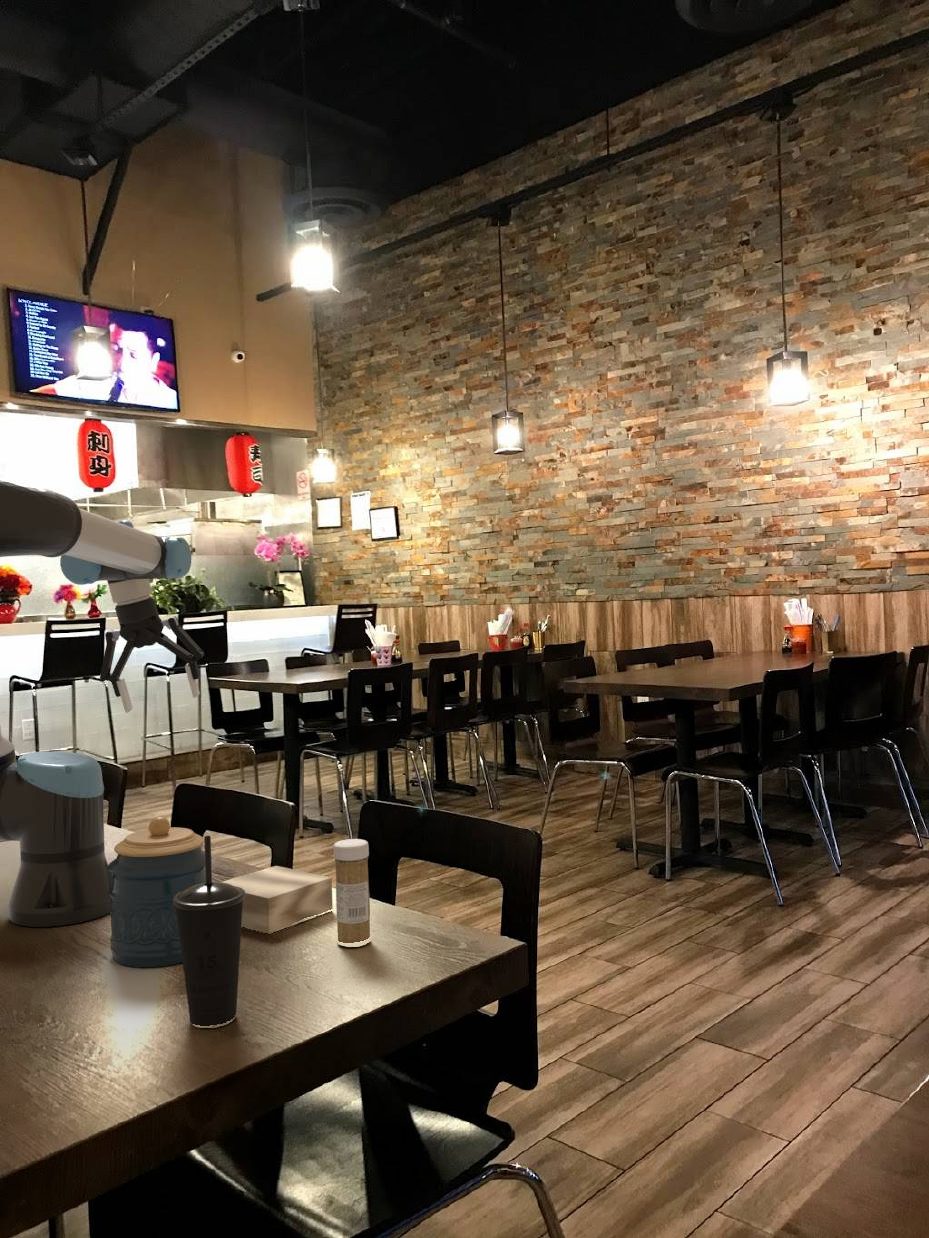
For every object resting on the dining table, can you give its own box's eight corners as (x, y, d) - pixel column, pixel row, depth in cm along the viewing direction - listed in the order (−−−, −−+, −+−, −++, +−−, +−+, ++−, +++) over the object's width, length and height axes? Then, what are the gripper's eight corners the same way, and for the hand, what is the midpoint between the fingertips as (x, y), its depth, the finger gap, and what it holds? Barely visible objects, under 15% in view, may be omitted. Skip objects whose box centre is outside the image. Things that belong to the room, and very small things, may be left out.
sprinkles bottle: (371, 936, 133) (369, 837, 132) (370, 948, 128) (367, 845, 128) (337, 938, 132) (334, 838, 132) (335, 950, 128) (332, 846, 128)
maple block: (269, 934, 134) (268, 898, 134) (213, 919, 142) (212, 884, 142) (332, 911, 144) (331, 877, 144) (276, 898, 151) (276, 865, 151)
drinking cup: (173, 1012, 110) (168, 832, 109) (243, 1000, 112) (238, 825, 112) (179, 1040, 102) (173, 848, 102) (253, 1027, 105) (248, 840, 105)
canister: (235, 944, 131) (231, 812, 131) (154, 977, 120) (150, 832, 120) (170, 928, 138) (166, 803, 138) (89, 957, 128) (84, 821, 127)
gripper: (200, 583, 196) (227, 684, 200) (76, 610, 196) (106, 712, 199) (192, 588, 189) (221, 694, 193) (64, 617, 188) (95, 722, 192)
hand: (163, 703), depth 196 cm, fingers open, 13 cm apart
